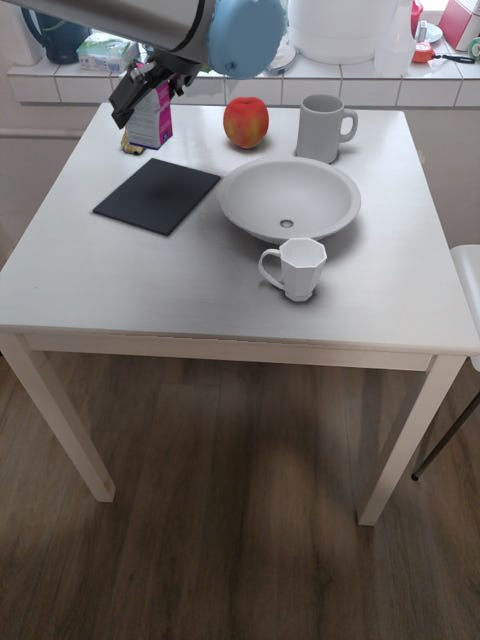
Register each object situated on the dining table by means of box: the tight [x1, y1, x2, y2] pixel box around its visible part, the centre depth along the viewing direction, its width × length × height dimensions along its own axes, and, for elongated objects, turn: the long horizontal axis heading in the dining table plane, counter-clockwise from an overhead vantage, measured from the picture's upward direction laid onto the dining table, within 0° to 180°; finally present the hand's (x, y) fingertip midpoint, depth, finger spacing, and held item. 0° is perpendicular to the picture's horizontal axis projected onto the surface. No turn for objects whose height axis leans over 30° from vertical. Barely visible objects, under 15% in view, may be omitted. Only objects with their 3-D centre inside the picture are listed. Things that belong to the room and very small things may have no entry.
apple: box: [222, 96, 270, 150], centre depth 102 cm, size 10×10×10 cm
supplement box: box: [118, 62, 174, 152], centre depth 80 cm, size 6×6×12 cm
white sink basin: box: [217, 155, 362, 246], centre depth 84 cm, size 24×24×7 cm
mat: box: [92, 157, 221, 237], centre depth 93 cm, size 16×20×1 cm
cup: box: [257, 238, 328, 302], centre depth 73 cm, size 7×10×8 cm
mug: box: [295, 93, 359, 165], centre depth 99 cm, size 12×8×11 cm
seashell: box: [120, 125, 144, 155], centre depth 105 cm, size 9×8×10 cm
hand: (137, 113), depth 83 cm, fingers closed on supplement box, 7 cm apart
